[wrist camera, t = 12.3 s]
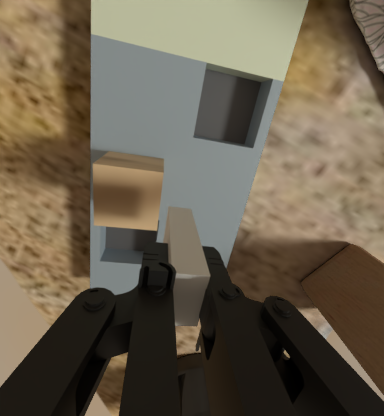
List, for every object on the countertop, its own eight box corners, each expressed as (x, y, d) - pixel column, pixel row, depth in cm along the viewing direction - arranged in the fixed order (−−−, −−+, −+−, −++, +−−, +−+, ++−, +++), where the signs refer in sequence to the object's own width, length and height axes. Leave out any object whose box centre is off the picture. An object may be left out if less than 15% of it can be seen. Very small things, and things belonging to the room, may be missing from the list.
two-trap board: (212, 284, 32) (221, 320, 27) (97, 276, 29) (81, 315, 24) (298, -20, 19) (352, -72, 13) (104, -87, 16) (72, -186, 11)
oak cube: (158, 206, 23) (157, 230, 18) (108, 201, 22) (93, 225, 17) (164, 158, 21) (163, 172, 16) (109, 151, 20) (92, 163, 15)
